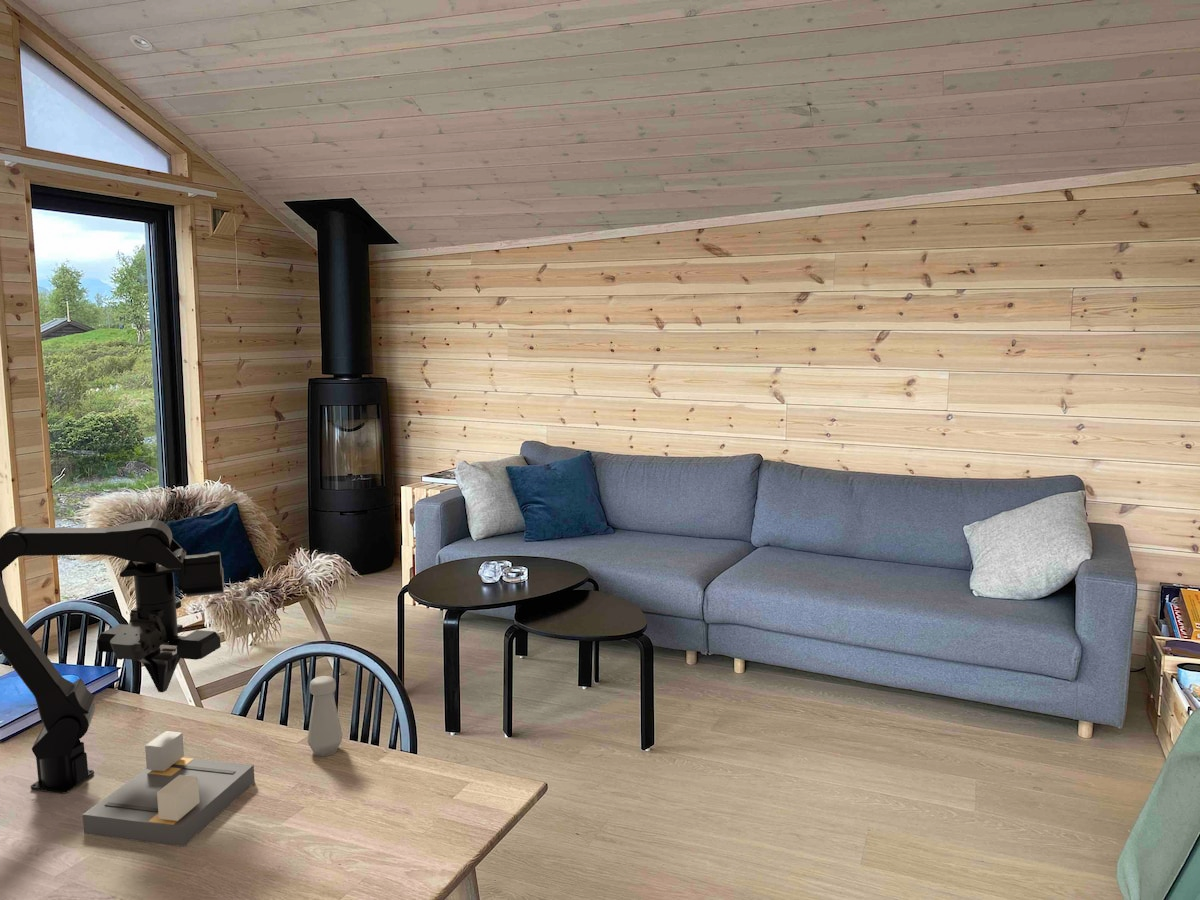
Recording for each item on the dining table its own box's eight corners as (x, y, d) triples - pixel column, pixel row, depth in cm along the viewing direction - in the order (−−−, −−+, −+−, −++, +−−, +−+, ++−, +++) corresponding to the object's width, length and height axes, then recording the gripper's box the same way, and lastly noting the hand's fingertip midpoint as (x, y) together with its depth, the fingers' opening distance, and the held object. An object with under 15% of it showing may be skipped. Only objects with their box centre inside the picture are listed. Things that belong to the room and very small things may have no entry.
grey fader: (146, 769, 144) (144, 745, 143) (167, 754, 149) (165, 731, 148) (163, 771, 143) (162, 747, 143) (184, 756, 148) (182, 732, 148)
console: (84, 833, 133) (82, 813, 132) (165, 772, 150) (164, 754, 149) (183, 846, 129) (181, 825, 129) (254, 782, 147) (253, 763, 146)
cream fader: (158, 818, 130) (156, 792, 130) (181, 800, 135) (179, 774, 134) (177, 820, 130) (175, 794, 129) (199, 802, 134) (197, 776, 134)
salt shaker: (332, 760, 154) (329, 687, 152) (301, 757, 155) (297, 684, 153) (349, 744, 160) (346, 673, 158) (318, 741, 161) (315, 670, 159)
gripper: (67, 611, 142) (76, 707, 144) (175, 620, 138) (182, 717, 140) (118, 590, 152) (125, 679, 155) (219, 597, 149) (225, 688, 151)
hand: (162, 691), depth 150 cm, fingers closed
